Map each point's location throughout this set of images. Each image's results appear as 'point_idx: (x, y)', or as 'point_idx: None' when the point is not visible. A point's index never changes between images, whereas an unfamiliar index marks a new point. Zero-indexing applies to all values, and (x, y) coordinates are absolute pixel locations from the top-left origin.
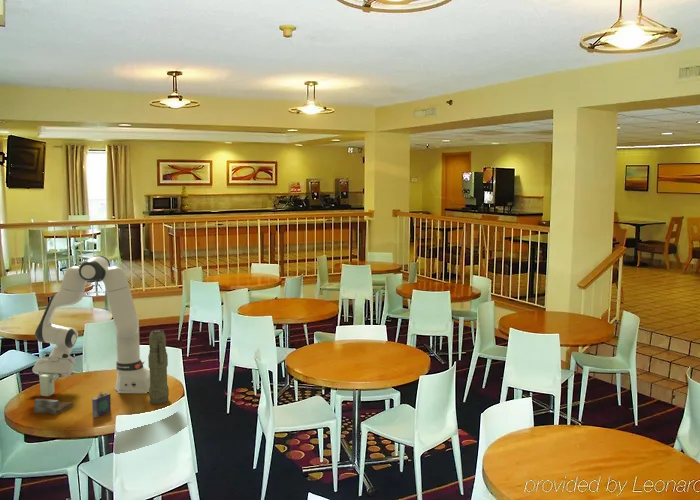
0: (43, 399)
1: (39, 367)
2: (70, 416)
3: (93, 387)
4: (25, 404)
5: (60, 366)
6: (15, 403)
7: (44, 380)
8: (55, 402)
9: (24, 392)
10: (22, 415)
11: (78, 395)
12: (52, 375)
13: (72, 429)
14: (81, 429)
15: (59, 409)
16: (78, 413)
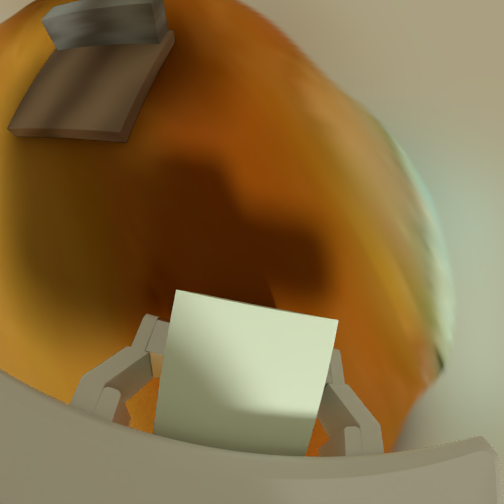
0: (111, 3)
1: (442, 499)
2: (27, 51)
3: None
4: (288, 132)
5: (14, 500)
6: (360, 154)
7: (240, 302)
8: (54, 8)
9: (415, 358)
10: (215, 20)
11: (16, 303)
12: (160, 407)
13: (31, 6)
14: (14, 14)
15: (55, 52)
16: (3, 78)
